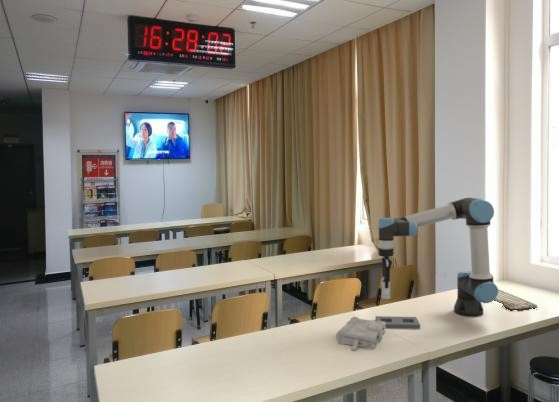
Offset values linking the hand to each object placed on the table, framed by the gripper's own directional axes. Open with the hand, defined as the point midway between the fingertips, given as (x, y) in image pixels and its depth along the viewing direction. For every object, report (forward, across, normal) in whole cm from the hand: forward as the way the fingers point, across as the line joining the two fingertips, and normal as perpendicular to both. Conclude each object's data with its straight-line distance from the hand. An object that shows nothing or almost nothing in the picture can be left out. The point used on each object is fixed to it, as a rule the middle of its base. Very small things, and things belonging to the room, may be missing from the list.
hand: (385, 292), depth 232 cm
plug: (+3, 0, 0) cm, 3 cm away
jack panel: (+17, 0, +6) cm, 18 cm away
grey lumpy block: (+18, +21, -14) cm, 31 cm away
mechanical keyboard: (+17, -46, +75) cm, 90 cm away
